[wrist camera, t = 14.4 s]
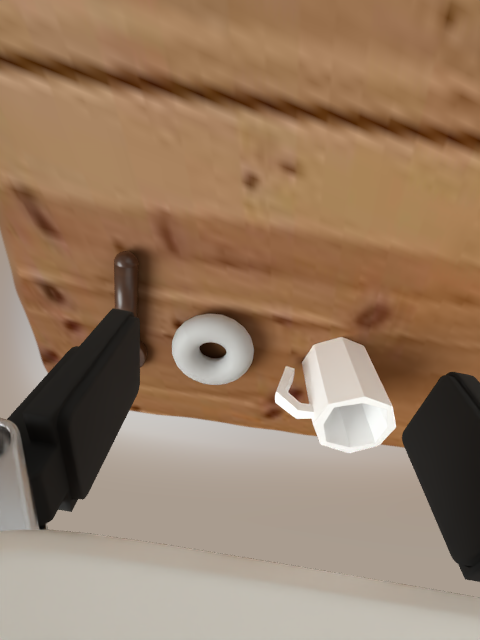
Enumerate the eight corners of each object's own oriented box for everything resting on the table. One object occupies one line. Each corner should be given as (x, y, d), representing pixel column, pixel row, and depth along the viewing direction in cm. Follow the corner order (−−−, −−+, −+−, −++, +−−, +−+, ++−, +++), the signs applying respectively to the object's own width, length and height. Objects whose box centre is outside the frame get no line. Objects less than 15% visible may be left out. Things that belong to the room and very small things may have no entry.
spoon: (107, 243, 33) (98, 251, 31) (152, 252, 34) (145, 261, 32) (111, 361, 42) (103, 373, 40) (147, 367, 42) (141, 379, 40)
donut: (228, 382, 43) (270, 333, 38) (225, 401, 40) (270, 351, 35) (162, 349, 41) (198, 293, 36) (154, 367, 38) (192, 308, 33)
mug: (374, 337, 38) (407, 397, 29) (360, 390, 42) (385, 455, 34) (274, 335, 38) (278, 393, 30) (271, 387, 43) (274, 450, 34)
